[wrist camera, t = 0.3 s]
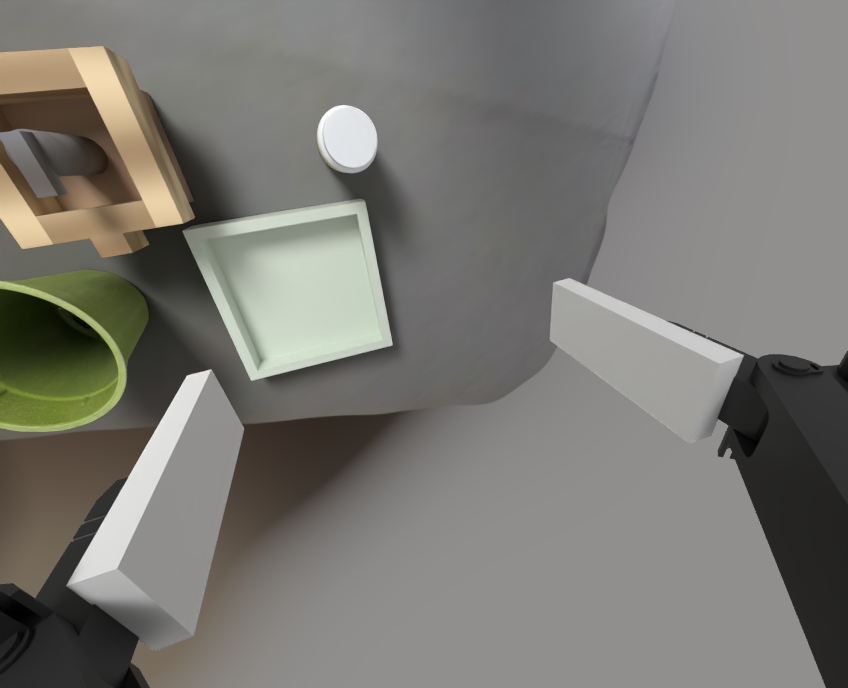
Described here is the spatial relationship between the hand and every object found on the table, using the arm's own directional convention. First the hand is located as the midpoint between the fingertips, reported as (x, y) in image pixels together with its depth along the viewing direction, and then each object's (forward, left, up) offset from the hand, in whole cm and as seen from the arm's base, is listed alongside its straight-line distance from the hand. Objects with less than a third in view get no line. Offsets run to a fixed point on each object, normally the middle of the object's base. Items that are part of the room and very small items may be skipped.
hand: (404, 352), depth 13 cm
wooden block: (-9, -17, -27) cm, 33 cm away
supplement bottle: (-8, +2, -27) cm, 28 cm away
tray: (+5, -6, -27) cm, 28 cm away
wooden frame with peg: (-9, -17, -22) cm, 29 cm away
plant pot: (+3, -24, -27) cm, 36 cm away
